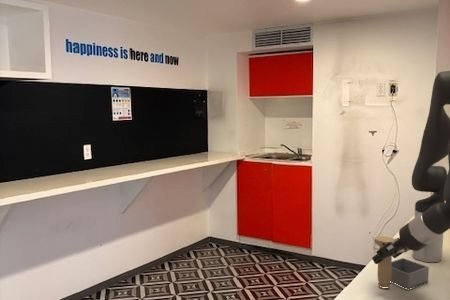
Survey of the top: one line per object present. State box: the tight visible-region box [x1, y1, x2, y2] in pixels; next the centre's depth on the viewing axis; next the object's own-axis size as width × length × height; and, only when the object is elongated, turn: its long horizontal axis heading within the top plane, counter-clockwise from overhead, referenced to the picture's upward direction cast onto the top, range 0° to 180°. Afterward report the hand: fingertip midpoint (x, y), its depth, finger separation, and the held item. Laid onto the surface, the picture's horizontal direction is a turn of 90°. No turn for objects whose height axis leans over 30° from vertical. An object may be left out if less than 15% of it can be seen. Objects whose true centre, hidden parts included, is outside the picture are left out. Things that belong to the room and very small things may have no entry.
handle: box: [374, 235, 396, 288], centre depth 127 cm, size 5×6×15 cm
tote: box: [391, 257, 430, 289], centre depth 132 cm, size 10×9×5 cm
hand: (383, 258), depth 127 cm, fingers open, 8 cm apart
